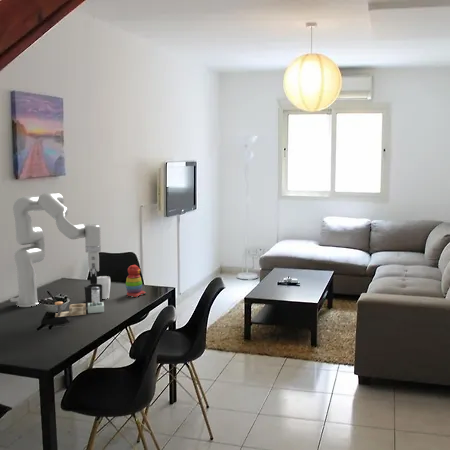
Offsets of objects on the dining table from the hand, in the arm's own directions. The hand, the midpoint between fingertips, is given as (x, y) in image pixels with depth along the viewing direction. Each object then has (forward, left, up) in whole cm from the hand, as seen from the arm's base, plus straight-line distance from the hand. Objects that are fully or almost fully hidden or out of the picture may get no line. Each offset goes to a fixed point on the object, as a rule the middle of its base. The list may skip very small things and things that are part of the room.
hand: (93, 281), depth 285 cm
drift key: (-17, -2, -13) cm, 22 cm away
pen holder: (0, +18, -16) cm, 24 cm away
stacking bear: (+23, +31, -16) cm, 41 cm away
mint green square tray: (+1, 0, -16) cm, 16 cm away
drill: (0, 0, -15) cm, 15 cm away
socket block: (-11, -2, -16) cm, 20 cm away
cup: (+5, +29, -16) cm, 33 cm away
